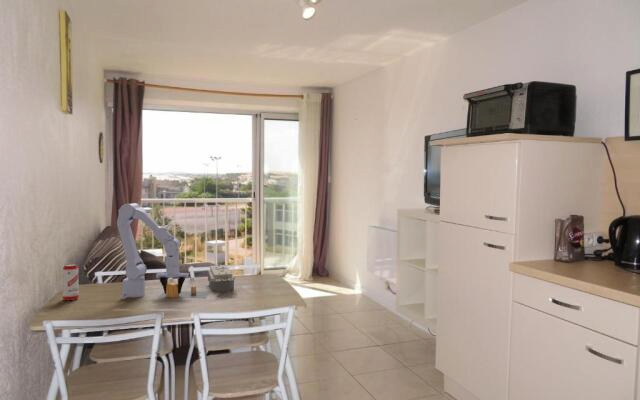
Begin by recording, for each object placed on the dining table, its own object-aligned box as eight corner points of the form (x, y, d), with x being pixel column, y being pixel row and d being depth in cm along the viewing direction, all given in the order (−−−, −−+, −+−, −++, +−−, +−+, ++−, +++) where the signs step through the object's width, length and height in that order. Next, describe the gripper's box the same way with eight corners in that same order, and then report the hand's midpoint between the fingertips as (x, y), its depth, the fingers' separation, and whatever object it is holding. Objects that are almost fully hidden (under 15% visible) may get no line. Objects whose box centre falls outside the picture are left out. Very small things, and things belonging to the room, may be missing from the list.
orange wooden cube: (164, 297, 206) (164, 285, 206) (168, 294, 212) (168, 282, 212) (177, 297, 207) (177, 285, 206) (180, 294, 212) (180, 282, 212)
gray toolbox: (227, 280, 245) (228, 262, 244) (236, 296, 218) (237, 276, 217) (205, 281, 241) (206, 263, 240) (212, 298, 214) (212, 278, 213)
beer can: (81, 298, 205) (81, 264, 205) (69, 302, 200) (68, 266, 199) (72, 297, 208) (72, 263, 207) (59, 300, 202) (59, 265, 202)
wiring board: (157, 300, 205) (157, 289, 205) (164, 293, 217) (164, 283, 217) (205, 300, 206) (205, 289, 206) (210, 293, 218) (210, 283, 218)
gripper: (154, 265, 204) (154, 295, 205) (186, 266, 205) (186, 295, 206) (158, 263, 211) (158, 291, 212) (190, 263, 212) (189, 291, 213)
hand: (172, 293), depth 209 cm, fingers closed on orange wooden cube, 6 cm apart
